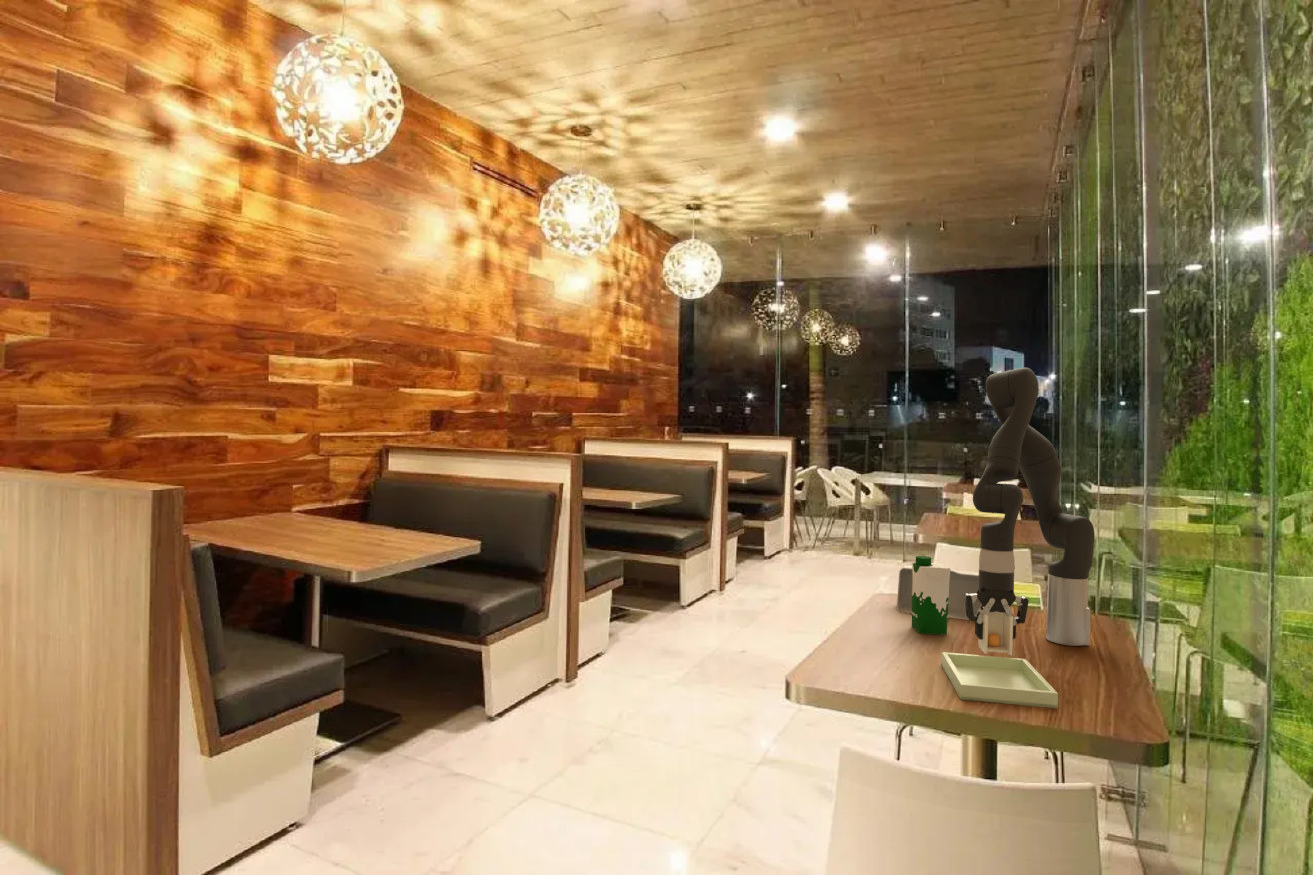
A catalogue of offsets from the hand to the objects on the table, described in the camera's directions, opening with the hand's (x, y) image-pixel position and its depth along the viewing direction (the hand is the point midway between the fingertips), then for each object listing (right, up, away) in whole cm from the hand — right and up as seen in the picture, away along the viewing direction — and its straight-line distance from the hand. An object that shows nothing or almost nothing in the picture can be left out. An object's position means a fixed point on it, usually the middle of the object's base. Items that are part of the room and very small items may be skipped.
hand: (995, 639), depth 172 cm
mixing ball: (0, 0, +1) cm, 1 cm away
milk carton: (-5, -5, +27) cm, 28 cm away
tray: (-7, -6, -15) cm, 17 cm away
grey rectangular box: (+7, -5, +50) cm, 51 cm away
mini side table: (0, -3, 0) cm, 3 cm away
